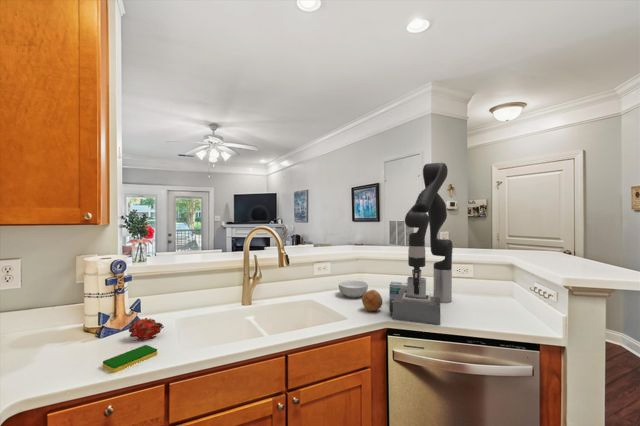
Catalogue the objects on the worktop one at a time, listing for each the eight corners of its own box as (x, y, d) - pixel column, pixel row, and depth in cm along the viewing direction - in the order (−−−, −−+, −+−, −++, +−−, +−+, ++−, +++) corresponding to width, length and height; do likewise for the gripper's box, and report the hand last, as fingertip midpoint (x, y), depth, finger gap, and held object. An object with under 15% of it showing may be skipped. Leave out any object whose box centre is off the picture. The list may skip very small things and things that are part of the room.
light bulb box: (389, 304, 160) (389, 283, 160) (391, 300, 166) (391, 281, 166) (410, 306, 156) (410, 285, 156) (411, 303, 162) (411, 282, 162)
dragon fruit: (126, 344, 116) (161, 344, 120) (124, 338, 110) (160, 338, 114) (132, 321, 121) (165, 322, 125) (130, 314, 115) (165, 315, 119)
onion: (362, 306, 156) (362, 287, 156) (382, 308, 154) (382, 288, 154) (361, 313, 146) (361, 292, 146) (382, 314, 144) (382, 293, 144)
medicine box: (426, 296, 141) (426, 277, 141) (425, 298, 137) (425, 279, 137) (408, 294, 145) (408, 276, 145) (407, 296, 141) (407, 278, 140)
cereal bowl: (336, 292, 183) (336, 280, 183) (363, 291, 185) (363, 279, 185) (341, 300, 167) (341, 287, 166) (371, 299, 168) (371, 286, 168)
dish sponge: (102, 368, 96) (102, 361, 96) (145, 351, 108) (145, 344, 108) (113, 375, 92) (113, 367, 92) (157, 356, 104) (157, 349, 104)
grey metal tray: (392, 309, 152) (392, 290, 152) (439, 314, 144) (439, 294, 144) (388, 318, 139) (388, 297, 138) (440, 324, 131) (440, 302, 131)
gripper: (409, 253, 149) (409, 288, 149) (407, 257, 135) (407, 296, 135) (425, 254, 146) (425, 289, 146) (425, 258, 133) (425, 297, 133)
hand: (416, 292), depth 141 cm, fingers closed on medicine box, 4 cm apart
